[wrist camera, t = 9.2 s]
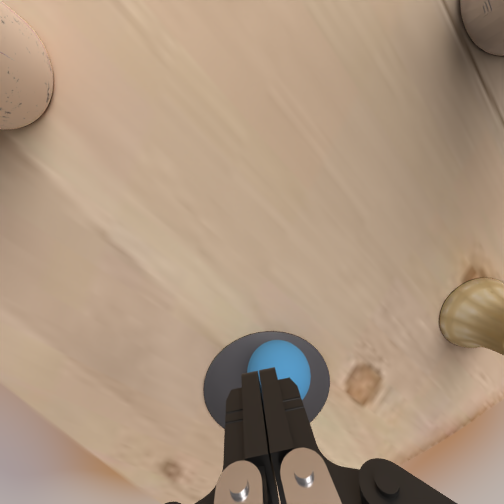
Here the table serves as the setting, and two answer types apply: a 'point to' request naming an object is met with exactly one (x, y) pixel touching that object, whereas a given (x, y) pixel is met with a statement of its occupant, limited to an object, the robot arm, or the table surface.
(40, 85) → the teacup with lid
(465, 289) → the hand bell
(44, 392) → the table surface
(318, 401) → the charcoal disc
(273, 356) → the ball
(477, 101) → the table surface
